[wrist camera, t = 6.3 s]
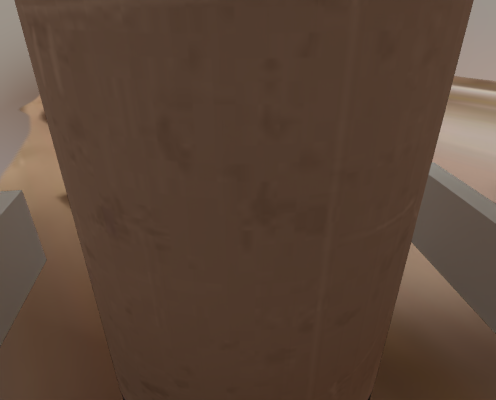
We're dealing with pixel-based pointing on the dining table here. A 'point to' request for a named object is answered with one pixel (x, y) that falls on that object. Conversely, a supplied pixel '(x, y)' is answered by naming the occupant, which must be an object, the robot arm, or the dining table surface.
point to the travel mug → (245, 180)
